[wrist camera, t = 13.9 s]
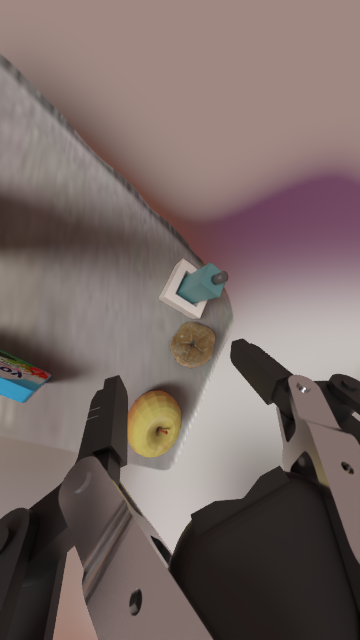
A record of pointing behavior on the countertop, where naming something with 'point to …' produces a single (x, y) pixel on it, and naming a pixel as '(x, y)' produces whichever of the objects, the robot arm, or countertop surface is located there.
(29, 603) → the robot arm
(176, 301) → the socket
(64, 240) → the countertop surface
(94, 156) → the countertop surface
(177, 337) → the fossil
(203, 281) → the teal block with knob
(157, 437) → the apple
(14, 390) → the blue printed box
